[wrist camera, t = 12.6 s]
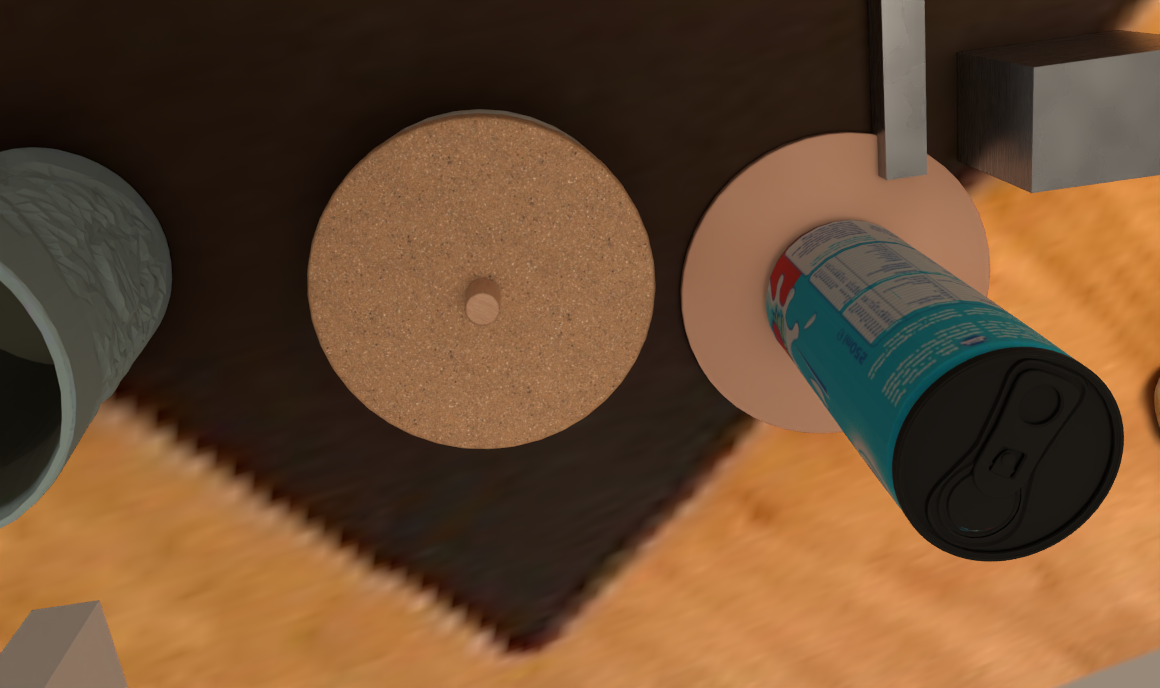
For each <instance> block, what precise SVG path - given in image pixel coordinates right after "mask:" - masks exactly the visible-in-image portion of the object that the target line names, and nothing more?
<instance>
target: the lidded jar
mask: <svg viewBox="0 0 1160 688" xmlns="http://www.w3.org/2000/svg"><path fill="white" fill-rule="evenodd" d="M307 283H308V301H309V306H310V312H311V318H312V322H313V325H314V328H315V331H316V334H317V337H318V340H319V342H320V345H321V347H322V349H323V351H324V353H325V355H326V357H327V359H328V360H329V362H330V364H331V366H332V368H333V370H334V371H335V372H336V373H337V375H338V376H339V377H340V379H341V380H342V381H343V383H344V384H345V385H346V387H347V388H348V389H349V390H350V391H351V392H352V393H353V394H354V395H355V396H356V397H357V398H358V399H359V400H360V401H361V402H362V403H363V404H364V405H365V406H366V407H367V408H368V409H370V410H371V411H373V412H374V413H376V414H377V415H378V416H380V417H381V418H383V419H384V420H385V421H387V422H388V423H390V424H392V425H394V426H396V427H398V428H400V429H402V430H404V431H406V432H408V433H410V434H411V435H414V436H417V437H420V438H423V439H426V440H429V441H432V442H435V443H438V444H443V445H449V446H454V447H460V448H474V449H494V448H504V447H513V446H518V445H522V444H526V443H530V442H534V441H538V440H541V439H543V438H546V437H548V436H551V435H553V434H555V433H558V432H560V431H563V430H565V429H566V428H568V427H570V426H571V425H573V424H575V423H576V422H578V421H580V420H581V419H583V418H585V417H586V416H587V415H588V414H590V413H591V412H592V411H593V410H595V409H596V408H597V407H598V406H599V405H601V404H602V403H603V402H604V401H605V400H606V399H607V398H608V397H609V396H610V395H611V394H612V393H613V391H614V390H615V389H616V388H617V387H618V386H619V385H620V384H621V383H622V381H623V380H624V378H625V377H626V375H627V374H628V372H629V371H630V369H631V367H632V366H633V364H634V363H635V361H636V359H637V357H638V355H639V353H640V350H641V348H642V346H643V344H644V341H645V339H646V337H647V333H648V329H649V325H650V322H651V318H652V314H653V306H654V297H655V272H654V260H653V255H652V251H651V247H650V242H649V238H648V235H647V232H646V230H645V227H644V225H643V222H642V220H641V217H640V215H639V212H638V210H637V208H636V207H635V205H634V203H633V202H632V200H631V198H630V197H629V195H628V193H627V192H626V190H625V189H624V187H623V185H622V184H621V183H620V182H619V180H618V179H617V178H616V177H615V176H614V175H613V173H612V172H611V171H610V170H609V169H608V168H607V166H606V165H605V164H604V163H603V162H602V161H600V160H599V159H598V158H597V157H596V156H595V155H594V154H592V153H591V152H590V151H589V150H588V149H586V148H585V147H584V146H583V145H582V144H581V143H579V142H578V141H577V140H576V139H574V138H573V137H571V136H569V135H568V134H566V133H564V132H563V131H561V130H559V129H558V128H556V127H554V126H552V125H550V124H547V123H545V122H542V121H540V120H537V119H535V118H532V117H530V116H525V115H521V114H517V113H512V112H508V111H500V110H485V109H475V110H464V111H453V112H449V113H445V114H442V115H438V116H434V117H430V118H427V119H425V120H422V121H420V122H418V123H416V124H413V125H411V126H409V127H407V128H405V129H403V130H401V131H400V132H398V133H397V134H395V135H394V136H392V137H391V138H389V139H388V140H386V141H385V142H383V143H382V144H380V145H379V146H377V147H376V148H374V149H373V150H372V151H371V152H369V153H368V154H367V155H366V156H365V157H364V158H363V159H362V160H361V161H360V162H359V163H357V164H356V165H355V166H354V167H353V168H352V169H351V171H350V172H349V173H348V174H347V176H346V177H345V178H344V179H343V181H342V182H341V183H340V185H339V186H338V187H337V188H336V190H335V191H334V193H333V194H332V196H331V198H330V200H329V202H328V204H327V206H326V207H325V209H324V211H323V213H322V215H321V217H320V219H319V222H318V225H317V228H316V231H315V234H314V237H313V240H312V243H311V249H310V256H309V262H308V268H307Z"/></svg>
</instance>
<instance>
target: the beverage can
mask: <svg viewBox="0 0 1160 688" xmlns="http://www.w3.org/2000/svg"><path fill="white" fill-rule="evenodd" d="M766 311H767V316H768V320H769V325H770V327H771V329H772V331H773V333H774V336H775V338H776V340H777V341H778V342H779V344H780V345H781V346H782V347H783V349H784V350H785V351H786V353H787V354H788V355H789V357H790V358H791V360H792V361H793V362H794V364H795V365H796V367H797V368H798V369H799V371H800V372H801V374H802V375H803V376H804V378H805V379H806V381H807V382H808V383H809V385H810V386H811V387H812V389H813V390H814V392H815V393H816V394H817V396H818V397H819V399H820V400H821V401H822V403H823V404H824V406H825V407H826V408H827V410H828V411H829V413H830V414H831V415H832V417H833V418H834V419H835V421H836V422H837V424H838V425H839V426H840V428H841V429H842V431H843V432H844V433H845V435H846V436H847V437H848V439H849V440H850V441H851V443H852V444H853V446H854V447H855V448H856V450H857V451H858V452H859V454H860V455H861V456H862V458H863V459H864V461H865V462H866V463H867V465H868V466H869V467H870V469H871V470H872V471H873V473H874V474H875V475H876V477H877V478H878V479H879V481H880V482H881V483H882V485H883V486H884V487H885V489H886V490H887V491H888V493H889V494H890V495H891V497H892V498H893V499H894V501H895V502H896V503H897V505H898V506H899V507H900V508H901V510H902V511H903V513H904V514H905V516H906V517H907V519H908V520H909V521H910V523H911V524H912V526H913V527H914V528H915V529H916V530H917V532H918V533H919V534H920V535H921V536H923V537H924V538H925V539H926V540H927V541H928V542H930V543H931V544H932V545H934V546H936V547H937V548H939V549H941V550H942V551H945V552H947V553H950V554H952V555H954V556H958V557H961V558H965V559H970V560H976V561H1006V560H1012V559H1017V558H1021V557H1025V556H1029V555H1032V554H1035V553H1037V552H1040V551H1042V550H1045V549H1047V548H1049V547H1051V546H1053V545H1055V544H1056V543H1058V542H1060V541H1061V540H1063V539H1065V538H1066V537H1067V536H1069V535H1070V534H1072V533H1073V532H1074V531H1076V530H1077V529H1078V528H1079V527H1080V526H1082V525H1083V524H1084V523H1085V522H1086V521H1087V520H1088V519H1089V518H1090V517H1091V515H1092V514H1093V513H1094V512H1095V511H1096V510H1097V509H1098V507H1099V506H1100V504H1101V503H1102V502H1103V500H1104V499H1105V497H1106V496H1107V494H1108V492H1109V490H1110V489H1111V487H1112V485H1113V483H1114V480H1115V478H1116V476H1117V473H1118V470H1119V467H1120V463H1121V459H1122V454H1123V446H1124V432H1123V423H1122V418H1121V414H1120V411H1119V408H1118V405H1117V403H1116V400H1115V399H1114V397H1113V395H1112V393H1111V392H1110V390H1109V389H1108V387H1107V386H1106V385H1105V383H1104V382H1103V381H1102V380H1101V379H1100V378H1099V377H1098V376H1097V375H1096V374H1095V373H1094V372H1092V371H1091V370H1090V369H1088V368H1087V367H1085V366H1084V365H1082V364H1081V363H1080V362H1078V361H1076V360H1075V359H1074V358H1072V357H1071V356H1069V355H1068V354H1067V353H1065V352H1064V351H1062V350H1061V349H1060V348H1058V347H1057V346H1055V345H1054V344H1053V343H1051V342H1050V341H1048V340H1047V339H1046V338H1044V337H1043V336H1041V335H1040V334H1038V333H1037V332H1036V331H1034V330H1033V329H1031V328H1030V327H1028V326H1027V325H1026V324H1024V323H1023V322H1021V321H1020V320H1018V319H1017V318H1016V317H1014V316H1013V315H1011V314H1010V313H1008V312H1007V311H1005V310H1004V309H1003V308H1001V307H1000V306H998V305H997V304H995V303H994V302H993V301H991V300H990V299H988V298H987V297H985V296H984V295H982V294H981V293H979V292H978V291H976V290H975V289H974V288H972V287H971V286H969V285H968V284H966V283H965V282H963V281H962V280H960V279H959V278H957V277H956V276H954V275H953V274H952V273H950V272H949V271H947V270H946V269H944V268H943V267H941V266H940V265H938V264H937V263H935V262H934V261H933V260H931V259H930V258H928V257H927V256H925V255H924V254H922V253H921V252H919V251H918V250H916V249H915V248H913V247H912V246H911V245H909V244H908V243H906V242H905V241H903V240H902V239H900V238H899V237H898V236H897V235H895V234H894V233H892V232H891V231H889V230H888V229H886V228H884V227H882V226H879V225H876V224H873V223H870V222H867V221H857V220H844V221H836V222H830V223H827V224H824V225H821V226H818V227H815V228H813V229H812V230H810V231H808V232H806V233H805V234H803V235H801V236H800V237H799V238H797V239H796V240H795V241H794V242H793V243H792V244H791V245H790V246H788V247H787V249H786V250H785V251H784V253H783V254H782V255H781V257H780V258H779V259H778V261H777V263H776V265H775V267H774V269H773V272H772V274H771V276H770V280H769V284H768V289H767V294H766Z"/></svg>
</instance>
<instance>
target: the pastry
mask: <svg viewBox="0 0 1160 688" xmlns="http://www.w3.org/2000/svg"><path fill="white" fill-rule="evenodd" d="M1154 404H1155V412H1156V416H1157V421H1158V424H1159V428H1160V378H1159V380H1158V383H1157V385H1156V388H1155V393H1154Z"/></svg>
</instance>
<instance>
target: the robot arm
mask: <svg viewBox="0 0 1160 688" xmlns="http://www.w3.org/2000/svg"><path fill="white" fill-rule="evenodd" d="M0 688H128V686H127V683H126V680H125V677H124V674H123V671H122V668H121V665H120V662H119V659H118V656H117V653H116V650H115V647H114V643H113V640H112V637H111V634H110V631H109V628H108V625H107V622H106V619H105V616H104V613H103V610H102V607H101V604H100V601H99V600H98V601H92V602H85V603H78V604H71V605H64V606H58V607H51V608H44V609H37V610H32V611H31V612H30V614H29V615H28V616H27V618H26V619H25V621H24V622H23V623H22V625H21V626H20V627H19V629H18V630H17V632H16V633H15V634H14V636H13V637H12V639H11V640H10V641H9V643H8V644H7V645H6V647H5V648H4V650H3V651H2V652H1V654H0Z"/></svg>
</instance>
